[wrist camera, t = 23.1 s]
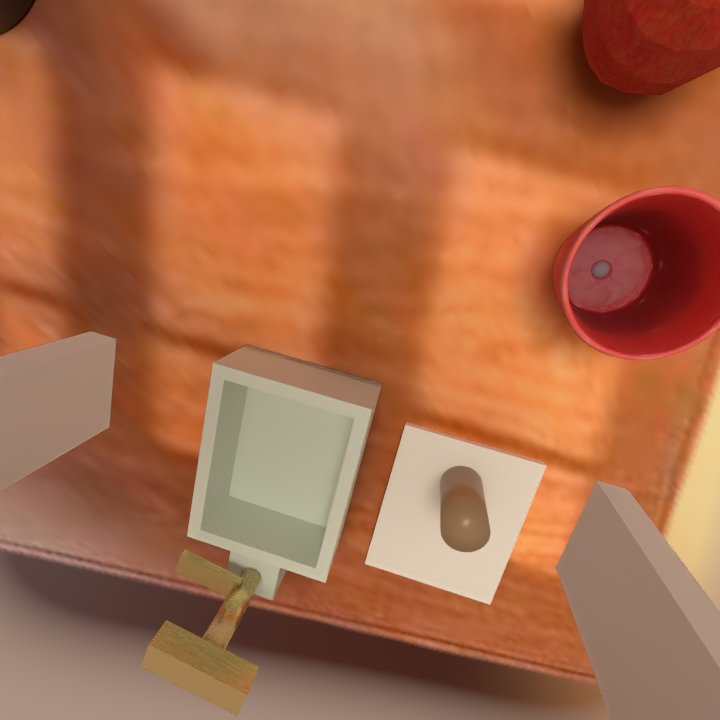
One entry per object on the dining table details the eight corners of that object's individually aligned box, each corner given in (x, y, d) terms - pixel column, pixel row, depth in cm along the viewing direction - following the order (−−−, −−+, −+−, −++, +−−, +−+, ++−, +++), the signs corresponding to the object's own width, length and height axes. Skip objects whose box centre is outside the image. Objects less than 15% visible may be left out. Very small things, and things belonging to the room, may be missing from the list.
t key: (284, 604, 43) (237, 716, 33) (187, 556, 43) (111, 651, 33) (292, 586, 42) (247, 694, 32) (193, 538, 43) (118, 629, 33)
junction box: (215, 526, 51) (182, 569, 44) (246, 344, 44) (212, 362, 38) (333, 565, 49) (316, 615, 43) (382, 383, 43) (372, 409, 36)
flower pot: (505, 263, 38) (527, 270, 29) (622, 170, 35) (688, 145, 26) (580, 356, 39) (623, 392, 30) (700, 275, 36) (790, 287, 27)
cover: (366, 556, 49) (351, 619, 41) (406, 419, 44) (398, 460, 36) (489, 595, 48) (499, 669, 39) (543, 459, 43) (568, 511, 35)
